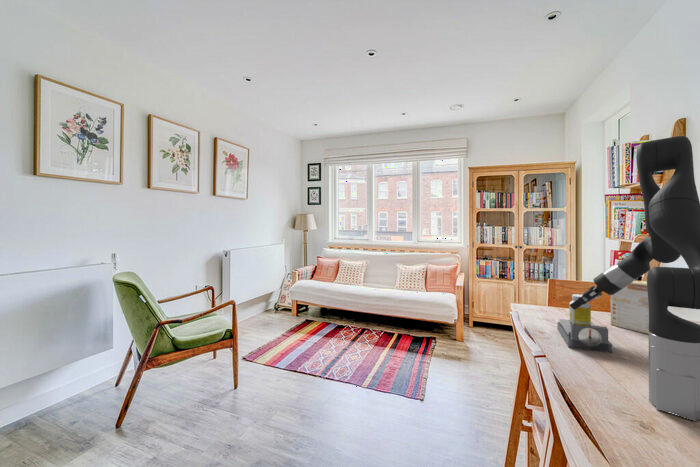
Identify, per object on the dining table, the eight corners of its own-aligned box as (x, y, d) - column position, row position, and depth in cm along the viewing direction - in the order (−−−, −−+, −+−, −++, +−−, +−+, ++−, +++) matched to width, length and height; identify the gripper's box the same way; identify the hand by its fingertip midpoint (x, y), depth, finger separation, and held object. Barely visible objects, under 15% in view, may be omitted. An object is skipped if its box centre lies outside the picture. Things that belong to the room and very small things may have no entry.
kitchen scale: (612, 353, 99) (612, 330, 98) (568, 348, 104) (568, 325, 104) (593, 333, 117) (593, 313, 117) (557, 329, 122) (557, 310, 122)
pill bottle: (594, 328, 110) (594, 297, 110) (575, 328, 111) (574, 297, 111) (584, 323, 116) (584, 293, 116) (566, 322, 117) (565, 293, 117)
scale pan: (606, 339, 102) (606, 336, 102) (568, 335, 107) (568, 332, 107) (592, 325, 117) (592, 322, 117) (559, 321, 122) (559, 319, 122)
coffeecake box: (666, 333, 115) (666, 283, 114) (656, 336, 112) (656, 285, 112) (619, 322, 129) (619, 277, 128) (609, 324, 126) (609, 279, 125)
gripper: (608, 269, 112) (571, 294, 121) (600, 273, 103) (561, 300, 112) (627, 284, 108) (588, 309, 117) (620, 291, 99) (578, 317, 108)
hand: (575, 305), depth 115 cm, fingers open, 8 cm apart
